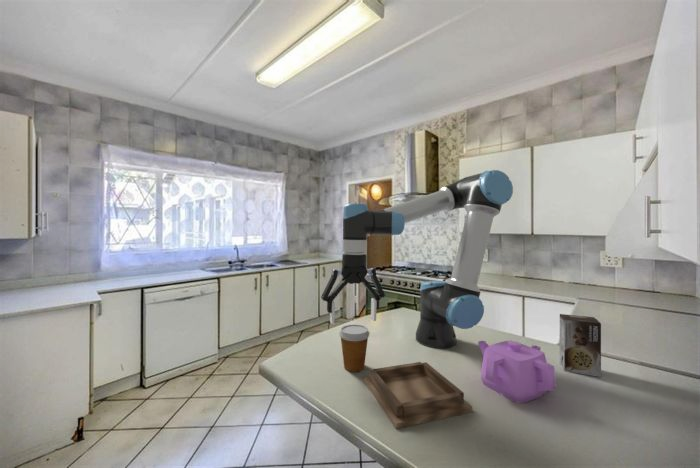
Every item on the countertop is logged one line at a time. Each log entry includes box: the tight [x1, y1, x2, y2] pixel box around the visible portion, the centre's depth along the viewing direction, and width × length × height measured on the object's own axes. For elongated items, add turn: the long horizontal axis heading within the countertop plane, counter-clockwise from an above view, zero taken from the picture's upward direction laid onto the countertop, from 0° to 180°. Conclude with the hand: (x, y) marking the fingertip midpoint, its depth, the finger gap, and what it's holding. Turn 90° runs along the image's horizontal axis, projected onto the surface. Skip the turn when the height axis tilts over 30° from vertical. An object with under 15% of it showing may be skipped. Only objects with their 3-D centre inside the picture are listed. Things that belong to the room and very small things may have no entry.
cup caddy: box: [363, 361, 473, 430], centre depth 74 cm, size 20×20×4 cm
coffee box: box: [558, 313, 602, 378], centre depth 88 cm, size 9×6×16 cm
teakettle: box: [477, 340, 557, 404], centre depth 78 cm, size 17×17×12 cm
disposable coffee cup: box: [338, 324, 371, 373], centre depth 89 cm, size 10×10×12 cm
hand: (353, 321), depth 89 cm, fingers open, 13 cm apart
